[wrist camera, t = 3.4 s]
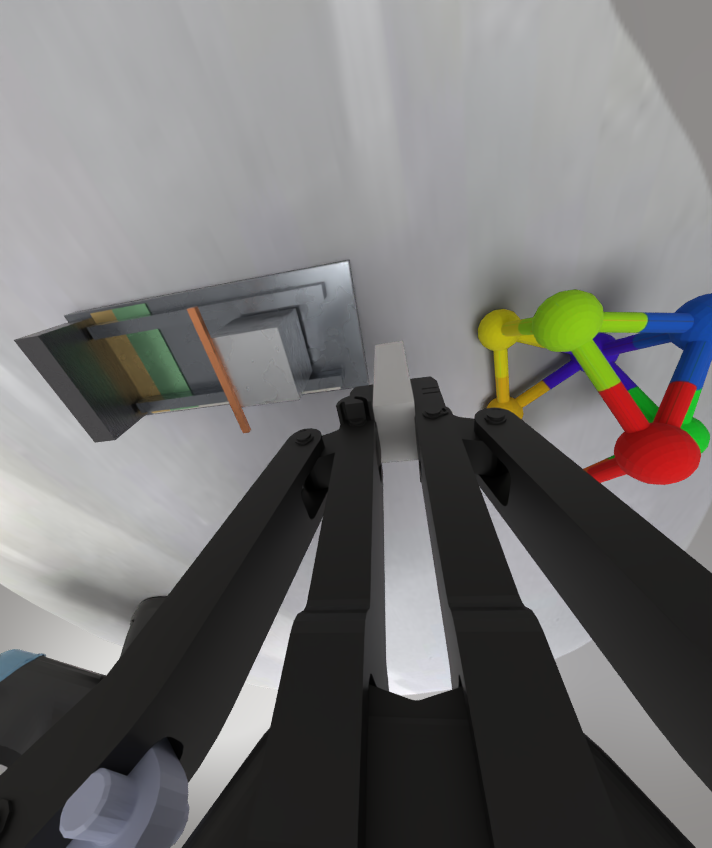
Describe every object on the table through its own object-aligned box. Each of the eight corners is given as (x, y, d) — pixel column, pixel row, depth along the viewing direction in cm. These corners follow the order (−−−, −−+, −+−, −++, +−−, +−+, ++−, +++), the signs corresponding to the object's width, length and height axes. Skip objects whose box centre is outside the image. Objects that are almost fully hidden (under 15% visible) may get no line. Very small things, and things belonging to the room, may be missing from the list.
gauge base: (139, 410, 32) (93, 447, 26) (75, 312, 26) (2, 334, 21) (368, 380, 28) (367, 415, 23) (349, 259, 23) (341, 270, 18)
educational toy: (630, 377, 28) (826, 521, 16) (487, 428, 32) (561, 573, 20) (633, 189, 19) (1049, 204, 8) (438, 290, 23) (517, 401, 12)
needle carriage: (265, 397, 28) (243, 433, 23) (225, 291, 23) (186, 309, 18) (317, 391, 27) (305, 425, 23) (288, 279, 22) (264, 294, 18)
